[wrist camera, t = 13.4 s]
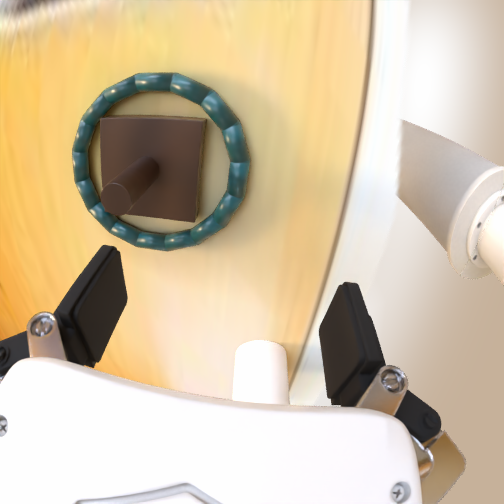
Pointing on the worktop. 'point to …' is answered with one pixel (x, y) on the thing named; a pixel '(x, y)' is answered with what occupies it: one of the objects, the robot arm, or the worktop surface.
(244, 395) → the cylindrical container
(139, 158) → the stand
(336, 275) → the worktop surface
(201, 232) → the ring
